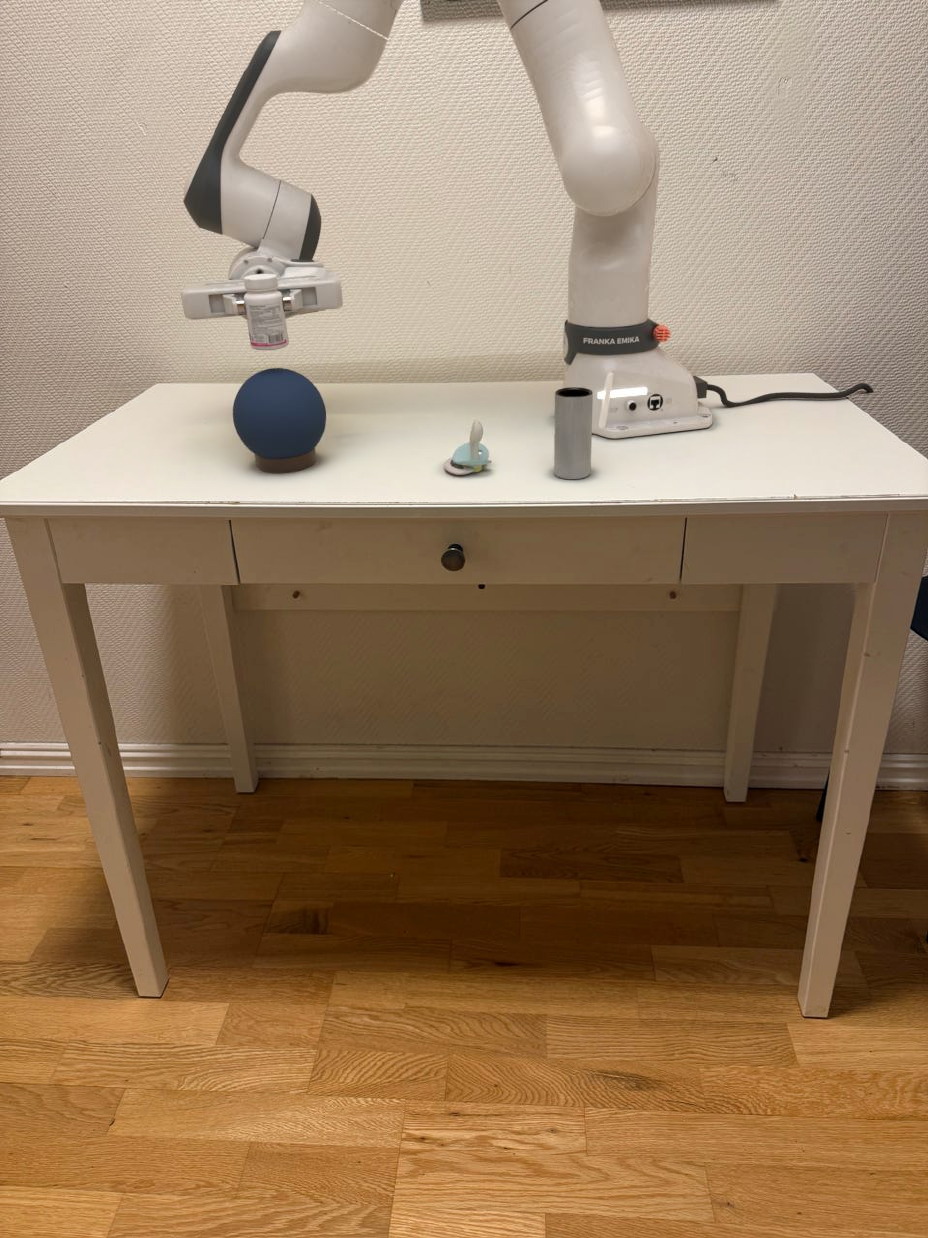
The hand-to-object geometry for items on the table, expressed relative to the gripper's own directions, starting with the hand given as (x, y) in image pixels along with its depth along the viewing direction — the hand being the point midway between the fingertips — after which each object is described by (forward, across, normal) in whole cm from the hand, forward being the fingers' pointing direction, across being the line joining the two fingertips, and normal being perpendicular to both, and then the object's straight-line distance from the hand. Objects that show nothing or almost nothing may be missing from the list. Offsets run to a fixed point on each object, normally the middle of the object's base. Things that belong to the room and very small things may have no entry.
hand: (264, 306), depth 112 cm
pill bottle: (-1, 0, +5) cm, 5 cm away
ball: (-1, 0, +20) cm, 20 cm away
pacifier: (+9, +23, +20) cm, 32 cm away
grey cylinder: (+15, +35, +20) cm, 43 cm away
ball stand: (-1, 0, +20) cm, 20 cm away
